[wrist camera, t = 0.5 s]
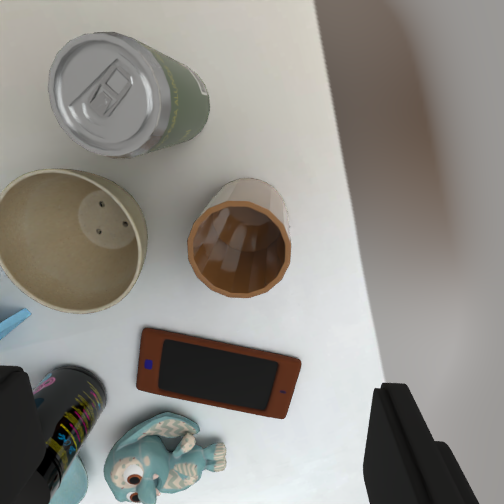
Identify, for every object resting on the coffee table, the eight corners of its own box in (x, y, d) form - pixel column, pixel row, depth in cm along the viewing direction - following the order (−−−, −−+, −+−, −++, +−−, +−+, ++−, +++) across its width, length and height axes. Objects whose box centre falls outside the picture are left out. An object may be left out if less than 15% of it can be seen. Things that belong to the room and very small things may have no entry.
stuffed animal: (229, 534, 36) (100, 550, 34) (225, 467, 42) (117, 479, 41) (228, 452, 32) (83, 467, 30) (224, 393, 38) (104, 403, 37)
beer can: (170, 45, 26) (88, -7, 14) (226, 103, 27) (190, 96, 16) (125, 105, 27) (19, 99, 16) (180, 157, 28) (116, 185, 17)
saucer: (17, 397, 38) (2, 414, 36) (115, 451, 40) (106, 470, 38) (-22, 461, 42) (-38, 479, 40) (69, 507, 44) (59, 527, 42)
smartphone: (140, 330, 33) (303, 364, 33) (144, 324, 34) (302, 357, 34) (134, 391, 36) (285, 422, 36) (137, 384, 36) (285, 414, 37)
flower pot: (173, 276, 32) (145, 318, 25) (61, 269, 32) (6, 309, 26) (167, 159, 28) (134, 173, 22) (43, 153, 29) (-27, 165, 22)
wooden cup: (194, 215, 30) (166, 249, 23) (248, 161, 28) (238, 178, 21) (248, 267, 31) (239, 315, 24) (303, 218, 29) (312, 254, 22)
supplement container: (75, 351, 36) (-1, 440, 26) (123, 397, 37) (69, 497, 28) (31, 382, 37) (-55, 477, 28) (79, 424, 39) (13, 528, 29)
